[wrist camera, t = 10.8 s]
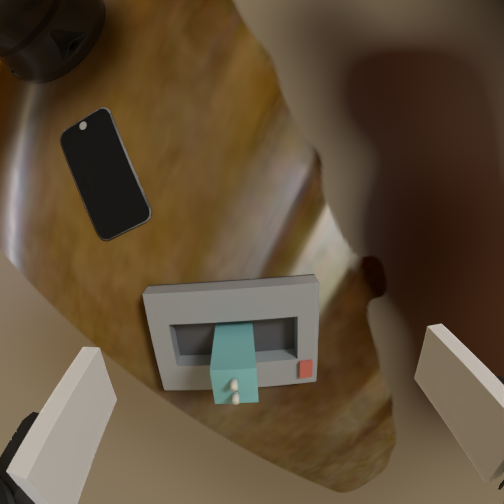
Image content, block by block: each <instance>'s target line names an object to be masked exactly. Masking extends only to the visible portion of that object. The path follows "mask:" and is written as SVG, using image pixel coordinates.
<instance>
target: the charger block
mask: <svg viewBox="0 0 504 504" xmlns="http://www.w3.org/2000/svg"><path fill="white" fill-rule="evenodd" d="M210 376H211V382H212V388H213V394H214V400H215V404H227V403H232V404H234V405H238V404H239V403H247V402H259V401H258V386H257V370H256V358H255V347H254V335H253V324H252V321H245V322H229V323H216V325H215V333H214V340H213V348H212V356H211V364H210Z"/></svg>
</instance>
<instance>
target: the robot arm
mask: <svg viewBox="0 0 504 504" xmlns="http://www.w3.org/2000/svg"><path fill="white" fill-rule="evenodd" d="M104 19H105V5H104V1H103V0H0V60H1V61H2V62H4V63H5V64H6V65H7V67H8V69H9V70H10V71H11V73H12V74H13V75H15V76H16V77H18V78H20V79H22V80H25V81H28V82H32V83H45V82H49V81H52V80H55V79H57V78H59V77H61V76H63V75H64V74H66V73H67V72H69V71H70V70H71V69H73V68H74V67H75V66H76V65H77V64H78V63H79V62H80V61H81V60H82V59H83V58H84V57H85V56H86V55H87V54H88V52H89V51H90V50H91V48H92V47H93V45H94V44H95V42H96V40H97V38H98V36H99V34H100V32H101V30H102V27H103V23H104ZM414 379H415V380H416V381H417V383H418V384H419V386H420V387H421V389H422V390H423V391H424V393H425V394H426V396H427V397H428V399H429V400H430V401H431V403H432V404H433V406H434V407H435V409H436V410H437V412H438V413H439V414H440V416H441V417H442V419H443V420H444V422H445V423H446V425H447V426H448V428H449V429H450V431H451V432H452V434H453V435H454V436H455V438H456V440H457V441H458V443H459V444H460V446H461V447H462V449H463V450H464V452H465V453H466V455H467V456H468V458H469V459H470V461H471V463H472V464H473V466H474V467H475V469H476V470H477V472H478V474H479V475H480V477H481V478H482V480H483V482H484V483H485V484H487V483H488V482H490V481H492V480H494V479H496V478H497V477H499V476H501V474H502V473H503V472H504V378H502V377H500V376H495V375H494V374H493V373H492V372H491V371H490V370H489V369H488V368H487V367H486V366H484V364H483V363H482V362H481V361H480V360H479V359H478V358H477V357H476V356H475V355H474V354H472V352H471V351H470V350H469V349H467V347H465V346H464V345H463V344H462V343H461V342H460V341H459V340H458V339H457V338H456V337H455V336H454V335H453V334H452V333H451V332H450V331H449V330H448V329H447V328H446V327H444V326H443V325H442V324H437V325H432V326H427V330H426V334H425V339H424V343H423V347H422V351H421V355H420V359H419V363H418V366H417V370H416V374H415V377H414ZM116 401H117V399H116V396H115V393H114V391H113V387H112V385H111V382H110V379H109V376H108V373H107V370H106V367H105V364H104V360H103V357H102V354H101V351H100V348H96V347H83V348H82V349H81V351H80V352H79V354H78V355H77V357H76V358H75V360H74V361H73V362H72V364H71V365H70V367H69V369H68V370H67V371H66V373H65V374H64V376H63V377H62V379H61V380H60V382H59V384H58V385H57V387H56V388H55V390H54V391H53V393H52V395H51V396H50V398H49V399H48V401H47V402H46V404H45V405H44V407H43V409H42V410H41V412H40V413H36V412H33V413H31V414H30V415H29V416H27V417H26V418H25V419H24V420H23V421H22V422H21V424H20V426H19V427H18V429H17V432H15V434H14V435H13V437H12V440H11V441H10V442H9V443H8V445H7V447H6V449H5V450H4V452H3V454H2V455H1V457H0V504H78V501H79V498H80V495H81V492H82V489H83V486H84V484H85V481H86V478H87V475H88V472H89V470H90V467H91V464H92V462H93V459H94V456H95V454H96V451H97V448H98V446H99V443H100V440H101V438H102V435H103V433H104V430H105V428H106V425H107V423H108V420H109V418H110V415H111V413H112V410H113V408H114V406H115V403H116ZM503 486H504V480H503V481H502V483H501V484H500V486H499V488H498V489H501V488H502V487H503Z"/></svg>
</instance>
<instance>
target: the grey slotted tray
mask: <svg viewBox="0 0 504 504" xmlns="http://www.w3.org/2000/svg"><path fill="white" fill-rule="evenodd" d="M142 295H143V300H144V305H145V310H146V315H147V320H148V325H149V329H150V334H151V338H152V343H153V347H154V351H155V355H156V360H157V364H158V368H159V372H160V375H161V379H162V383H163V387H164V390H213V388H212V382H211V376H210V364H211V356H212V348H213V340H214V333H215V325H216V323H229V322H245V321H252V324H253V335H254V347H255V358H256V370H257V386H258V387H266V386H278V385H288V384H297V383H306V382H314V381H316V375H317V354H318V325H319V281H318V280H317V278H316V277H315V275H314V274H310V275H297V276H285V277H272V278H258V279H244V280H230V281H215V282H199V283H183V284H165V285H148V287H147V288H146V290H145V291H144V293H143V294H142Z"/></svg>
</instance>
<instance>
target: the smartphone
mask: <svg viewBox="0 0 504 504" xmlns="http://www.w3.org/2000/svg"><path fill="white" fill-rule="evenodd" d="M60 143H61V146H62V149H63V152H64V154H65V157H66V160H67V162H68V165H69V168H70V170H71V173H72V175H73V178H74V181H75V183H76V186H77V188H78V190H79V193H80V195H81V198H82V200H83V202H84V205H85V208H86V210H87V212H88V214H89V216H90V219H91V221H92V223H93V225H94V227H95V230H96V232H97V234H98V236H99V237H100V238H101V239H103V240H111V239H112V238H114V237H116V236H118V235H120V234H123V233H125V232H127V231H129V230H131V229H133V228H135V227H137V226H139V225H141V224H143V223H145V222H147V221H148V220H149V219H150V217H151V215H152V210H151V207H150V205H149V202H148V200H147V198H146V196H145V193H144V191H143V189H142V186H141V184H140V182H139V179H138V177H137V175H136V173H135V170H134V168H133V165H132V163H131V161H130V158H129V156H128V154H127V151H126V149H125V146H124V144H123V141H122V139H121V136H120V134H119V131H118V129H117V126H116V124H115V121H114V119H113V116H112V113H111V111H110V110H109V109H107V108H99V109H98V110H96V111H94V112H93V113H91V114H89V115H88V116H86V117H85V118H83V119H81V120H80V121H78V122H77V123H75V124H74V125H72V126H71V127H69V128H68V129H66V130H65V131H64V132H63V133H62V135H61V138H60Z"/></svg>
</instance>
